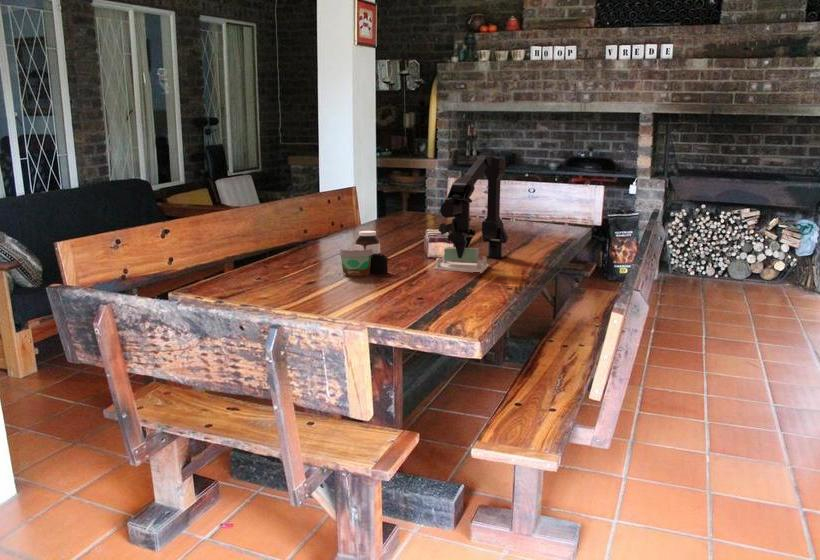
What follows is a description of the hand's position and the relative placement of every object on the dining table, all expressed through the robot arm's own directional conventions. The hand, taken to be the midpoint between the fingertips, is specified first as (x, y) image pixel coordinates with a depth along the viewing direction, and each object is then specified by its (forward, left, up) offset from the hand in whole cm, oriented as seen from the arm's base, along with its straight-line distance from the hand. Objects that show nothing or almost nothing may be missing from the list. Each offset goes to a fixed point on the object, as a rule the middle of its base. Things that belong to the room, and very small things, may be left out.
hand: (461, 256), depth 275 cm
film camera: (+17, -31, -5) cm, 35 cm away
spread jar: (-9, -43, -5) cm, 44 cm away
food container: (+26, -32, -5) cm, 42 cm away
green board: (0, 0, -1) cm, 1 cm away
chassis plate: (0, 0, -5) cm, 5 cm away
